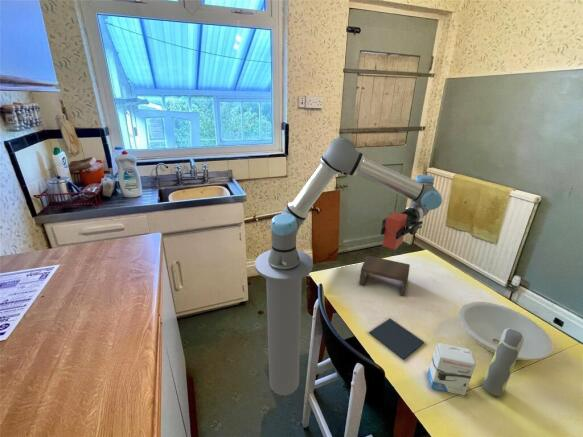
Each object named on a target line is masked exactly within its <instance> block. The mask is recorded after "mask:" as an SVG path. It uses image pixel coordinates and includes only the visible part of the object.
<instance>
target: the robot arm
mask: <svg viewBox="0 0 583 437" xmlns="http://www.w3.org/2000/svg"><path fill="white" fill-rule="evenodd" d="M342 173H345V174H347V175H350V176H351V177H353V176H358V177H360V178H362V179H364V180H366V181H369V182H371V183H373V184H375V185H377V186H380V187H382V188H385V189H386V190H389V191H391V192H393V193H396V194H398V195H400V196H401V197H404V198H406V199H409V200H410V205H409V206H407V207H406V208H405V209H403V210H402V211H401V212H400V213H402V214H406V215H407V220H406V226H405V227H402V228H401V229H400V230H399V231H398V232H397V233H396V239H399V238H400V237H401V236H402V235H404V236H406V235H407V234H409V235H414V234H415V233H416V232H417V231H418V230H419V229H422V227H423V223H424V221H422V219H423V218H424V217H426V216H428V214H429V212H430V211H435V210H436V209H438V208H439V207H440V206H441V205H442V203H443V197H442V194H441V193H440V192H439V191H438V190H437V189H436V188H435V186H434V184H435V177H434V176H433V175H429V174H418V175H416V176H415V179H413V178H411V177H409V176H407V175H404V174H402V173H400V172H398V171H396V170H394V169H391V168H389V167H387V166H384V165H382V164H381V163H378V162H376V161H374V160H371V159H369V158H367V157H365V155H364V153H362V152H360V151H358V149H357V150H356V146H355V144H354V143H353V141H351V139H349V138H347V137H345V136H344V137H340V136H339V137H336V138H334V139H333V140H332V141H331V142H330V143H329V146H328V147H327V149H325V152H324V153H323V154H322V155H321V157H320V164H319V165H318V166H317V168H316V170H315V171H314V173H313V174H312V175H311V176H310V177H309V179H308V181H307V182H306V184H305V185H303V188H302V189H301V190H300V192H299V193H298V195H297V196H296V197H295V199H294V200H293V201H289V202H287V205H286V206H285V208H283V209H282V211H281V213H278V214H276V215H274V216H273V217H272V219H271V223H270V229H271V230H270V231H271V232H270V233H271V249H270V250H271V252H270V256H269V258H268V264H269V265H270V267H272V268H274V269H276V270H283V271H285V270H291V269H294V268H296V267H297V266H298V265H299V263H300V258H299V255H298V252H297V250H298V249H297V234H298V232H299V229H300V228H301V226H302V225H303V223H305V221H306V220H307V218H309V213H308V212H309V210H310V209H311V208H312V206H314V204H315V203H316V202H317V200H318V199H319V198H320V196H321V195H322V193H323V192H324V191H325V190H326V188H327V187H328V186H329V184H330V183H331V182H332V180H333V179H334V178H335V176H336V175H338V174H342ZM391 214H392V213H389V215H391ZM386 218H387V217H385V218H384V219H382V223H381V231H380V235H381V236H384V231H385V225H386Z"/></svg>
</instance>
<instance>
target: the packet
mask: <svg viewBox="0 0 583 437" xmlns="http://www.w3.org/2000/svg"><path fill="white" fill-rule="evenodd" d="M390 214H391V215H390ZM390 214H389V215H388V216H386V217H385V218H386V225H385V231H384V234H383V238H382V247H384V248H388V249H391V250H392V251H393V250H394V251H395V250H397V249H398V248H399V247H400V246H401V245H402V244H403V242H404V238H405V235H402V236H401V237H400V238H399V239H396V233H397V232H398V231H399V230H400V229H401V228H402V227H406V220H407V215H406V214H402V213H401V212H399V211H393V212H392V213H390Z"/></svg>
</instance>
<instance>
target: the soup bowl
mask: <svg viewBox="0 0 583 437" xmlns="http://www.w3.org/2000/svg"><path fill="white" fill-rule="evenodd" d="M458 316H459V321H460V323H461V325H462V326H463V328H464V329H465V330H466V331H467V332H468V334H469V335H470V337H472V339H473V340H474V341H475V342H477V343H478V344H479V345H480V346H481V347H482V348H484V349H485V350H487V351H489V352H491V353H493V354H495V351H496V349H497V347H498V344H499V343H498V344H497V343H495V342H494V341H493V340H495V341H498V342H500V339H501V337H502V334H503V332H504V330H505V329H508V328H512V329H515V330H518V331H519V332H520V333H522V335H523V337H524V342H523V344H522V347H521V350H520V352H519V355H518V357H517V360H518V361H519V360H523V361H525V360H527V361H537V360H543V359H545V358H547V357H549V356H550V355H551V353H552V352H553V348H554V346H553V341H552V339H551V337H550V336H549V335H548V333H547V332H546V331H545V330H544V329H543V328H542V327H541V326H540V325H539V324H538V323H537V322H535V320H532V319H531V318H529V317H528V316H526V315H524V314H523V313H520V312H519V311H516V310H514V309H513V308H509V307H507V306H504V305H500V304H497V303H493V302H488V301H473V302H468V303H465V304H464V305H463V306H461V308H460V309H459V312H458ZM517 360H516V361H517Z"/></svg>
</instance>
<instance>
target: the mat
mask: <svg viewBox="0 0 583 437" xmlns="http://www.w3.org/2000/svg"><path fill="white" fill-rule="evenodd" d="M369 335H371V336H372V337H373V338H375V339H376V340H377V341H378V342H380V343H381V344H382V345H383V346H385V347H386V348H388V349H389V350H390V351H391V352H393V353H394V354H395V355H396V356H397V357H399V358H400V359H401V360H403V361H404V360H406V359H407V358H408V357H409V356H410V355H411V354H413V353H414V352H415V351H417V350H418V349H419V348H420V347H421V346H422V345H424V344H425V341H424V340H422V339H421V338H419V337H418V336H416V335H415V334H414V333H413V332H411V331H409V330H408V329H406V327H403V326H402V325H401V324H399V323H398V322H396V321H395V320H393V319H392V318H388V319H387V320H386V321H383V323H380V324H379V325H378V326H376V327H375V328H373V329H372V330H370V331H369Z"/></svg>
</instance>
